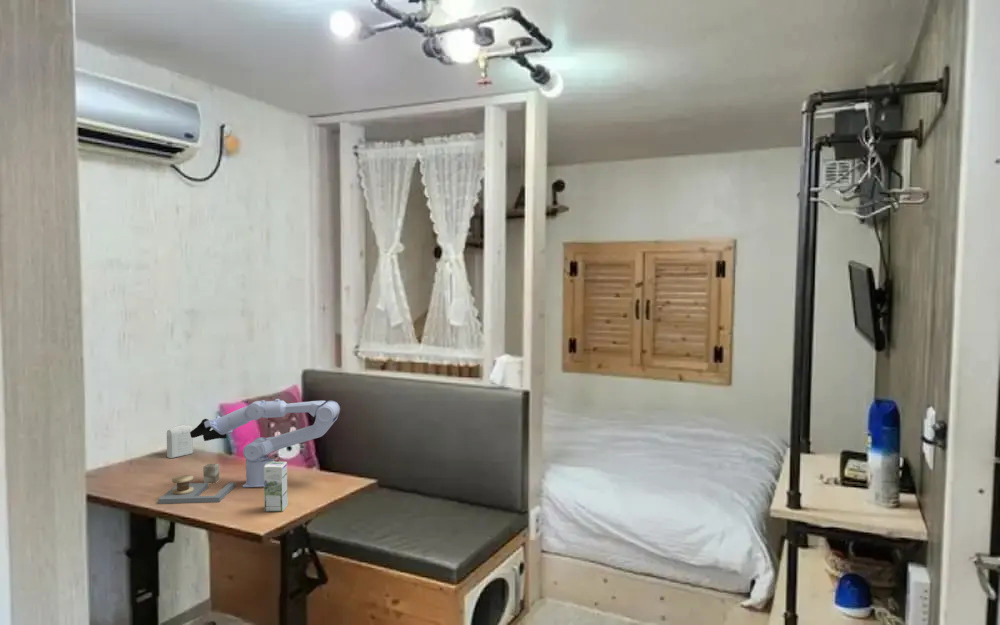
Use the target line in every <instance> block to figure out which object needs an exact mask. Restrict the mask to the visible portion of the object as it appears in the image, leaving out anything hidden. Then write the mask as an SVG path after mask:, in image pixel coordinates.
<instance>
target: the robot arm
mask: <svg viewBox="0 0 1000 625" xmlns="http://www.w3.org/2000/svg"><path fill="white" fill-rule="evenodd" d="M340 411H341V407H340V405H339V403H338V402H336V401H334V400H328V401H326V400H311V401H300V402H291V403H287V402H286V401H285V400H281V399H280V398H276V399H274V400H264V399H263V400H255V401H253V402H252V403H250V404H248V405H245V406H243V407H241V408H238V409H236V410H234V411H232V412H230V413H228V414H225V415H223V416H220V415H216V416H215V418H214V419H211V420H210V419H207V418H204V419H202V420H201V422H200V423H199V424H198V425H197V426H196V427H195V428H193V430H192V431H191V432H190V435H191V438H193V439H195V438H197V437H201V436H202V439H203V441H204V442H207V441H211V440H212V441H213V440H218V439H227V438H228V436H227V434H231V433H233V432H234V431H233V430H235V429H237V428H239V427H242V426H244V425H246V424H248V423H250V422H251V421H257V420H258V421H259V419H261V418H264V419H265V418H266V419H267V418H268V419H270V418H284V417H285V416H286V415H287V414H291V413H292V414H296V413H297V414H298V413H308V414H310V416H312V418H315V420H314V423H313V424H312V425H307V426H305V427H302V428H299V429H295V430H292V431H291V430H290V431H289V432H285V433H282V434H278V435H275V436H269V437H262V436H260V437H257V438H254V440H252V441H251V442H250V443H248V444H246V445H245V446H244V448H243V451H242V454H243V457H244V458H245V472H246V474H245V479H246V482H245V483H244V484H243V485H242V488H264V466H265V465H266V464H267V463H268V462H276V461H275V459H274V458H270V457H268V456H269V454H270V453H273V452H275V451H279V450H282V449H285V448H289V447H291V446H295V445H298V444H301V443H304V442H308V441H311V440H315V439H318V438H321V437H323V436H324V435H325V434H326V433H327V432H328V431H329V430H330V428H331V427H332V426H333V425H334V423H335V422H336V421H337V419H338V418H339V415H340V413H341V412H340Z"/></svg>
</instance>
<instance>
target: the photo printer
mask: <svg viewBox="0 0 1000 625" xmlns="http://www.w3.org/2000/svg"><path fill="white" fill-rule="evenodd" d="M192 430H194V428H193V426H192V425H187V424H185V425H184V424H182V425H177V426H173V427H172V428H169V429H168V430H167V431H166V455H167V458H168V459H173V458H177V457H183V456H187V455H192V454H194V438H191V435H190V432H191V431H192Z"/></svg>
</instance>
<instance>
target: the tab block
mask: <svg viewBox="0 0 1000 625" xmlns="http://www.w3.org/2000/svg"><path fill="white" fill-rule="evenodd" d="M202 472H203V483H212V484H211V485H213V483H216V482H217V481H218V480H219V481H220V463H207V464H205V465H204V466H203V470H202ZM219 481H218V482H219ZM218 482H217V483H218Z"/></svg>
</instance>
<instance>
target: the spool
mask: <svg viewBox="0 0 1000 625" xmlns="http://www.w3.org/2000/svg"><path fill="white" fill-rule="evenodd" d="M193 480H194V475H191V474H183V475H176V476H174V477H172V479H171V482H172V483H173V484H176V485H177V488H175V489H173V490H172V494H174V495H184V494H188V493H191V492H193V491H194V488H193V487H191V486H189V483H190V482H192V481H193Z"/></svg>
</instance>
